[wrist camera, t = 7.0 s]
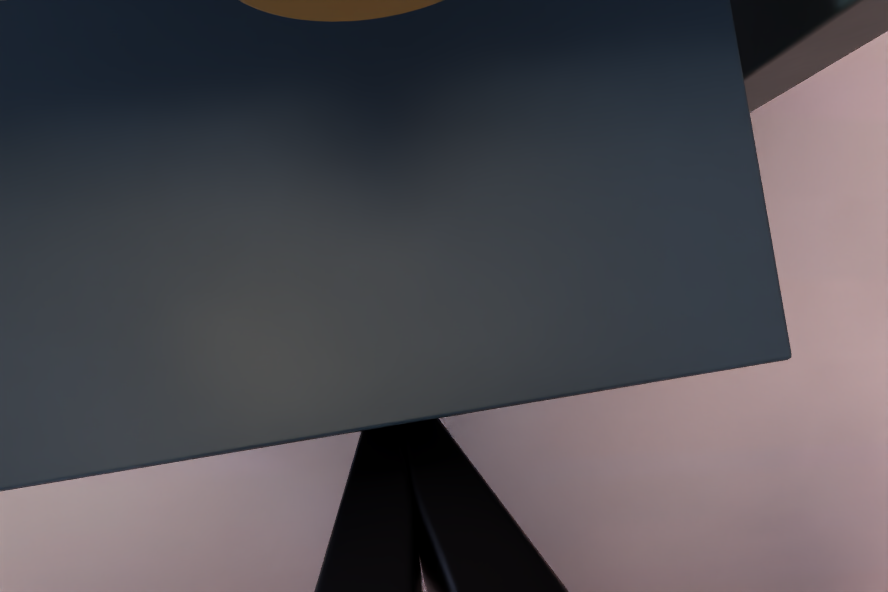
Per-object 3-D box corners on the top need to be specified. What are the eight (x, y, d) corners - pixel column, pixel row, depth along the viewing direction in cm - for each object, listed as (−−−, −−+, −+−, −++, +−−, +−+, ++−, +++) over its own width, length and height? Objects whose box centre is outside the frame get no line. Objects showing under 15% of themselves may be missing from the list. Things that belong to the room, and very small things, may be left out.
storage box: (593, 351, 17) (794, 358, 9) (162, 420, 16) (-37, 498, 8) (514, -143, 18) (636, -545, 10) (89, -106, 16) (-167, -522, 9)
